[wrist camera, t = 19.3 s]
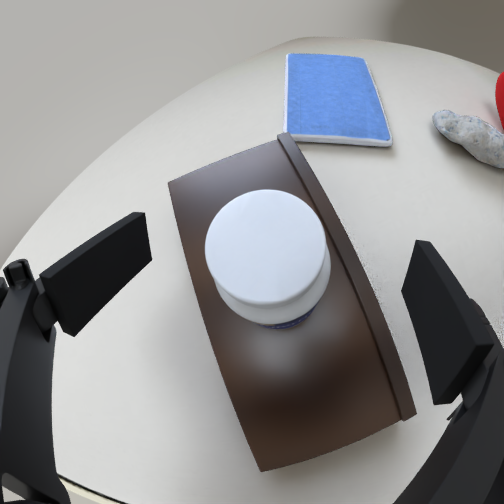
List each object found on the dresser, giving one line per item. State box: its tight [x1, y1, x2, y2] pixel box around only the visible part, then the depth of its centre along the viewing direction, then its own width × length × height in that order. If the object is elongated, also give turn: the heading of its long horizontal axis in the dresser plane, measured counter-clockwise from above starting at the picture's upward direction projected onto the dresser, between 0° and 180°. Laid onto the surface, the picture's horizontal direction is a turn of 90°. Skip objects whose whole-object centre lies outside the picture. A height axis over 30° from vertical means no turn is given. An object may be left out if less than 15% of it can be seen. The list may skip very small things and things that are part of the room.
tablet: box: [283, 53, 393, 147], centre depth 30 cm, size 19×13×1 cm, turn 175°
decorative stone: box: [432, 110, 504, 168], centre depth 23 cm, size 13×7×5 cm, turn 77°
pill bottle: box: [205, 190, 331, 330], centre depth 15 cm, size 6×6×10 cm
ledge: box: [168, 132, 417, 472], centre depth 21 cm, size 26×12×5 cm, turn 20°
